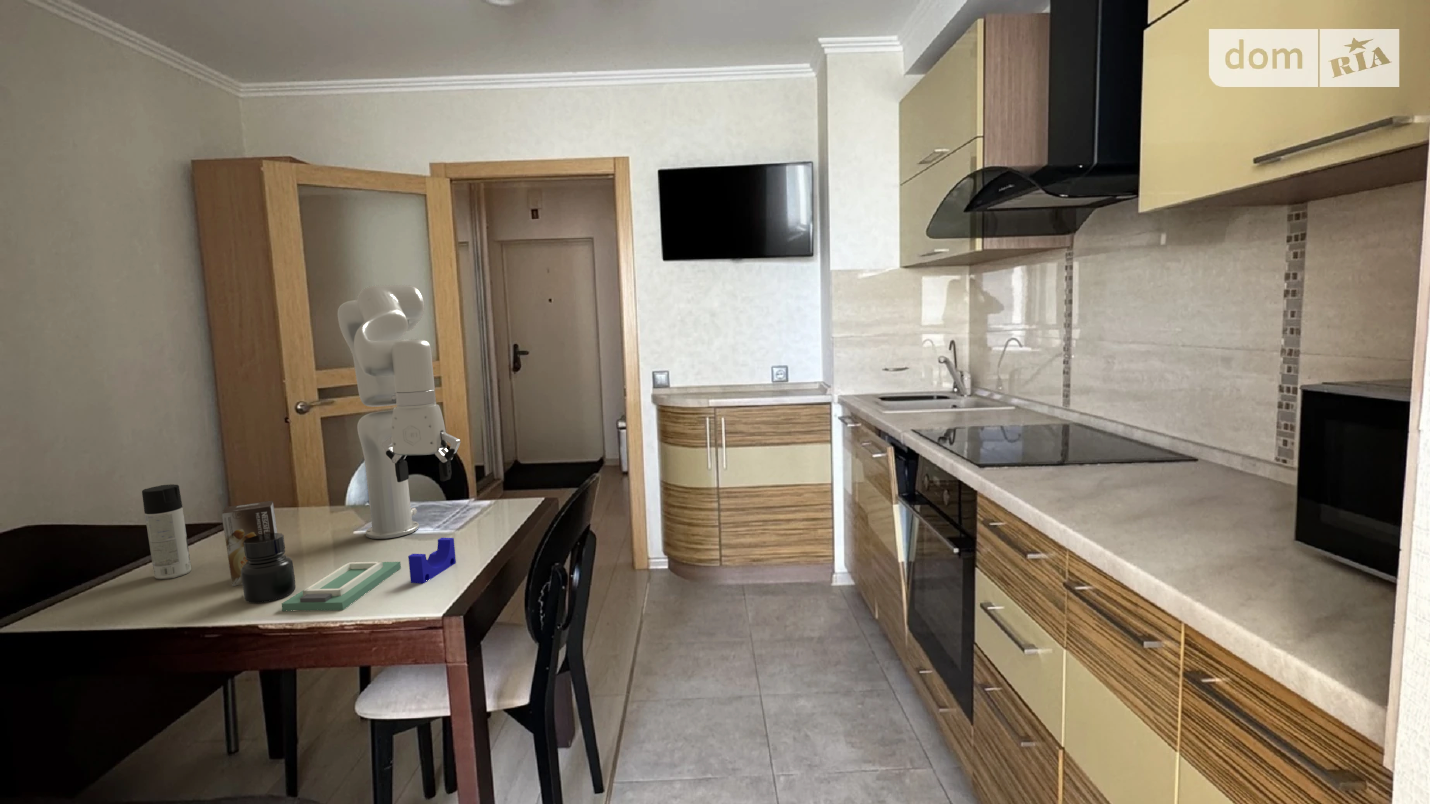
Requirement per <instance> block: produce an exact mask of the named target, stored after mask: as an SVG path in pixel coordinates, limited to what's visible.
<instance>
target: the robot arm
mask: <svg viewBox="0 0 1430 804" xmlns="http://www.w3.org/2000/svg"><path fill="white" fill-rule="evenodd" d="M424 312H425V302H424V298H423V295H422V294H421V292H420V290H419V289H418V288H417V287H415V286H413V285H410V284H409V285H408V284H406V285H405V284H391V285H390V284H384V285H383V284H380V285H379V284H378V285H377V284H376V285H371V286H366V287H364V288H363V289H362V290H360V292H359V293H358V295H357V299H354V300H348V301H345V302H343V303H341V304H340V305H339V307H338V308H337V319H338V321H337V322H338V325H339V329H340V332H341V334H342V336H343V339H344V340H345V342H346V345H347V346H348V348H349V349H350V353H351V355H352V358H353V366H354V372H355V379H356V384H357V391H358V396H359V399H360V402H361V403H362V404H363V405H364V406H366V407H370V408H371V407H373V408H375V407H376V408H377V407H388V406H396V407H393V409H390V410H381V411H373V412H370V413H367V414H365V415H362V417H361V418H359V419H358V421H357V434H358V439H359V443H360V444H361V445H360V446H361V449H362V453H363V458H364V466H365V474H366V475H365V476H366V484H367V492H368V493H367V494H368V502H369V512H370V523H371V527H369V528H367V529H366V530H365V536H366V537H367V538H368V539H373V540H374V539H375V540H384V539H385V540H386V539H393V538H399V537H404V536H406V535H409V534H412V533H414V531H415V532H416V531H417V530H416V529H417V528H418V527H419V528H420V526H419V525H420V524H419V522H417V521H415V520H413V518H412V517H413V516H415V515H416V514H417V513H418V510H417V508H416V507H411V498H410V489H409V478H410V476H409V467H408V462H407V460H405V459H406V457H407V456H427V455H428V456H430V455H435V457H437V458H438V459H439V461H440V462H438V471H439V481H440V482H446V481H448V480H451V478H452V474H453V473H452V463H451V461H452V460H453V458H454V456H455V455H456V454H457V453H458V450H459V447H460V445H461V443H462V442H461V439H459V438H457V437H455V436H454V435H451V434H449V433H447V432H446V431H447V430H446V426H445V421H444V417H443V413H442V410H441V407H440V405H439V404H437V399H436V388H435V378H434V377H435V376H434V368H433V353H432V348H431V345H430V343H429V341H427V340H424V339H419V338H409V339H408V338H407V339H403V337H404V335H406V334H407V333H406V332H410V331H412V330H413V329H414V328H415V326H417V325H418V323H419V321H421V319H422V318H423V315H424ZM448 444H449V445H450V447H449V449H447V447H448V446H447V445H448ZM419 528H418V529H419Z"/></svg>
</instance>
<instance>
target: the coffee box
mask: <svg viewBox="0 0 1430 804" xmlns="http://www.w3.org/2000/svg"><path fill="white" fill-rule="evenodd" d="M221 519H222V526H223V532H224V539H225V546H226V552H227V561H228V567H229V571H230V578H231V579H230V580H231V586H232V587H235V586H236V587H237V586H241V585H242V577H241V569H242V567H243V566H244V565H245V564H246V562H247V561H248V560H246V556H245V552H244V544H243V542H244V540H246V539H248V538H251V537H254V536H257V535H262V534H269V533H278V529H277V521H276V513H275V506H274V501H273V500H269V501H261V502H260V501H259V502H254V503H253V502H252V503H246V504H245V503H244V504H239V505H230V506H225V507H224V508H223V510H222V513H221Z"/></svg>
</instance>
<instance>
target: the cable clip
mask: <svg viewBox="0 0 1430 804" xmlns="http://www.w3.org/2000/svg"><path fill="white" fill-rule="evenodd" d="M455 548H456V547H455V538H454V537H440V538H438V539H437V549H436V550H435V551H433V552H431V553H429V555H428V557H427V556H426V555H427V554H426V553H411V554H409V555H408V567H409V577H410V583H411V584H423V583H424V584H425V583H427V582H429V581H430V580H432V579H433V578H435V577H436V576H438V575H440V574H441V573H442V572H443V573H444V571H446V570H448V569H449V568H450V567H452V566H454V565H456V564H457V560H456V559H457V558H456V549H455ZM429 579H430V580H429ZM426 580H427V581H426ZM428 580H429V581H428Z"/></svg>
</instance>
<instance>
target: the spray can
mask: <svg viewBox="0 0 1430 804" xmlns="http://www.w3.org/2000/svg"><path fill="white" fill-rule="evenodd" d="M141 496H142V503H143V510H144V518H145V524H146V529H147V537H148V544H149V550H150V555H151V556H150V557H151V562H152V563H151V565H152V569H153V570H152V571H153V576H154V578H155V579H157V580H168V579H169V580H170V579H174V578H179V577H182V576H185V575H187V574H189V573H190V572H191V570H192V566H191V565H192V564H191V557H190V550H189V542H188V537H187V536H188V535H187V529H186V521H185V515H184V509H183V507H184V506H183V503H182V496H181V491H180V486H179V485H178V484H171V483H170V484H163V485H156V486H152V487H147V488H144V489H143V490H141Z"/></svg>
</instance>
